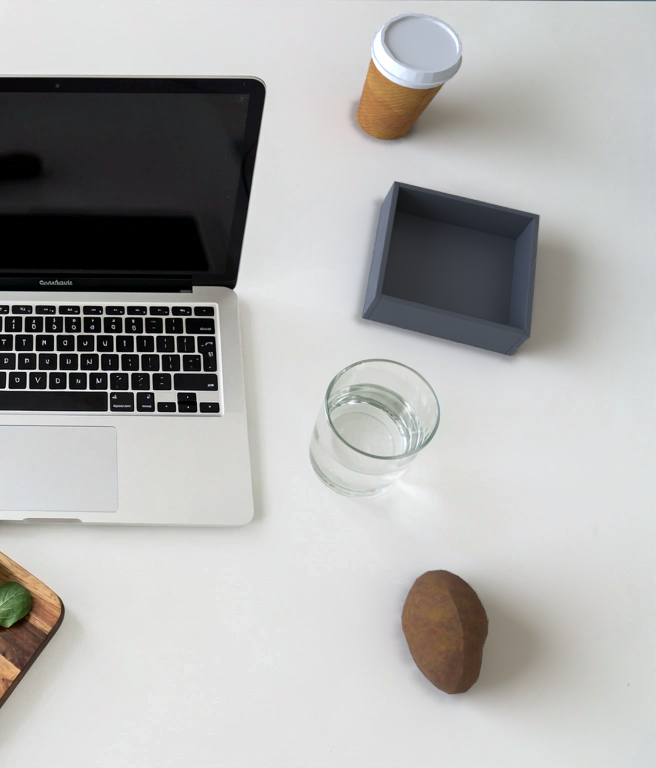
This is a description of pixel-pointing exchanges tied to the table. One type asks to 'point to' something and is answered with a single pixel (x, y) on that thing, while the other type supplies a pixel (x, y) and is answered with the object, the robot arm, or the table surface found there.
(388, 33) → the disposable coffee cup
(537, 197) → the table surface
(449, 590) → the potato
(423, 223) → the bin
